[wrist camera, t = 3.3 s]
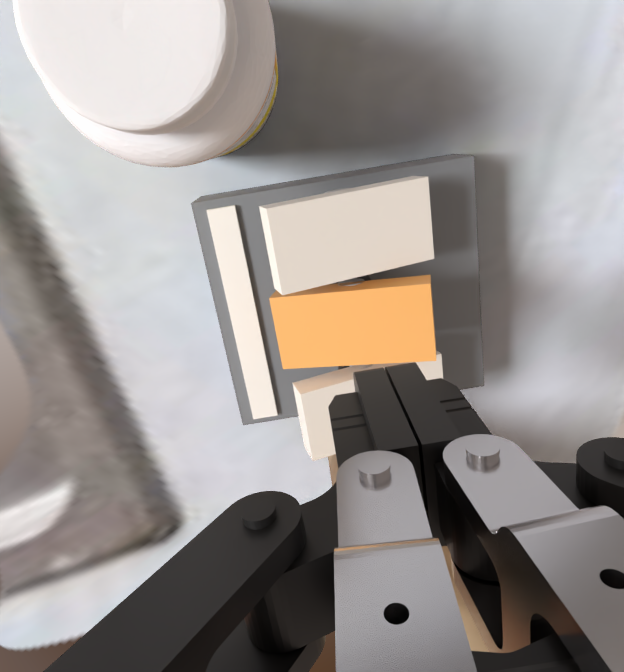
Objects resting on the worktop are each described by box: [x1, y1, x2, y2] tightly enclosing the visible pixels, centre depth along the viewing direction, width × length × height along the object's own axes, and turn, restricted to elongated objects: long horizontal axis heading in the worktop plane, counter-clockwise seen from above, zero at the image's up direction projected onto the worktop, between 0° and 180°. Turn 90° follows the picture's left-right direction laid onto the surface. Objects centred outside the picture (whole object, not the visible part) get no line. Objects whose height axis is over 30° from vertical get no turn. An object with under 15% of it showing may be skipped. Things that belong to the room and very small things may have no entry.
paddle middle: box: [269, 275, 436, 369], centre depth 18 cm, size 3×5×2 cm, turn 99°
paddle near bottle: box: [259, 176, 434, 295], centre depth 17 cm, size 3×5×2 cm, turn 99°
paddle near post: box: [293, 351, 443, 461], centre depth 19 cm, size 3×5×1 cm, turn 99°
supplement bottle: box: [13, 0, 278, 167], centre depth 14 cm, size 6×6×10 cm
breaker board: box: [191, 154, 484, 425], centre depth 20 cm, size 9×10×4 cm
